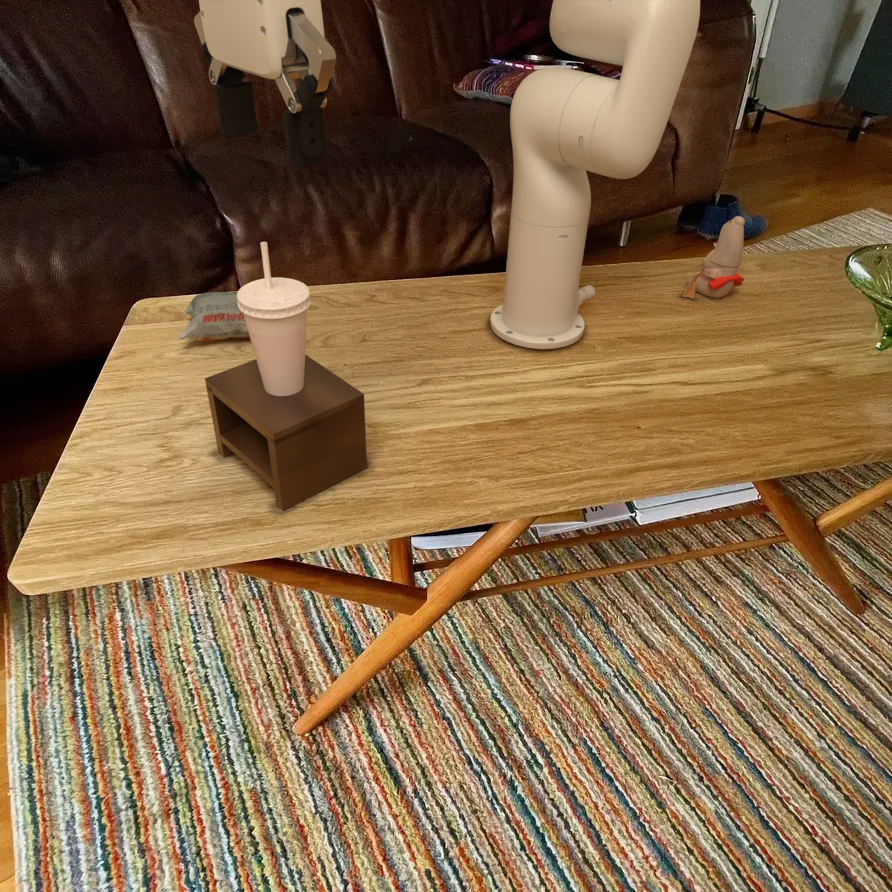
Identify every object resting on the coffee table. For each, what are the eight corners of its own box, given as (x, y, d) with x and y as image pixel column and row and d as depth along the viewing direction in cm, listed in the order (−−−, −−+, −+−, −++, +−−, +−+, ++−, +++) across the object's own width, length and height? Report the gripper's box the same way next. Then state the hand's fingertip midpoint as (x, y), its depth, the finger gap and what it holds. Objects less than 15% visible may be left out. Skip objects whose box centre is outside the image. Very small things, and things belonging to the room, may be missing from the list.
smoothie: (287, 361, 76) (272, 224, 67) (332, 384, 73) (322, 244, 64) (235, 386, 72) (212, 245, 63) (280, 412, 69) (263, 267, 60)
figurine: (708, 276, 117) (741, 203, 109) (741, 299, 113) (777, 225, 105) (668, 286, 113) (699, 211, 105) (701, 310, 109) (735, 234, 101)
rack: (299, 416, 84) (292, 345, 78) (367, 468, 77) (364, 393, 72) (218, 452, 78) (204, 378, 73) (283, 511, 71) (273, 434, 66)
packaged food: (278, 347, 96) (274, 311, 93) (181, 352, 94) (173, 316, 91) (279, 316, 103) (275, 282, 100) (188, 320, 101) (181, 286, 98)
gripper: (366, -109, 48) (376, 165, 59) (224, -119, 58) (254, 118, 68) (264, -109, 44) (294, 187, 54) (130, -119, 54) (177, 133, 64)
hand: (272, 148), depth 61 cm, fingers open, 9 cm apart
